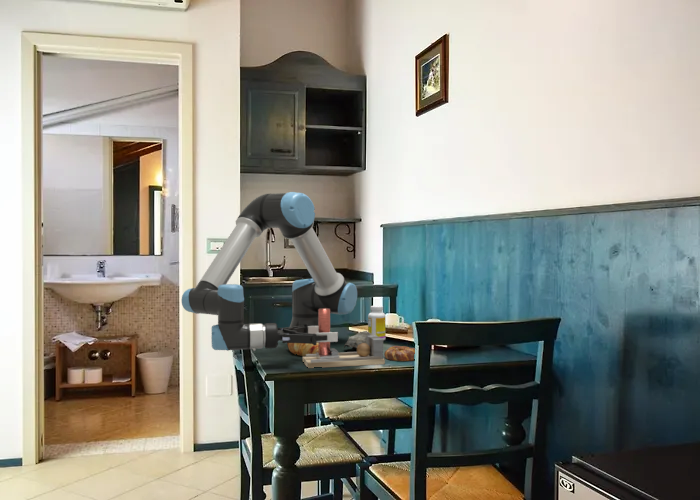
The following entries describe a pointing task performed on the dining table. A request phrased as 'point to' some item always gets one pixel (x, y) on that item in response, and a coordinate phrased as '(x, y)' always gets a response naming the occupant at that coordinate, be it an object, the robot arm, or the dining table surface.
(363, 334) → the rock
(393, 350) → the pretzel
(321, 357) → the handle
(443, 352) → the dining table surface
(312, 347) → the croissant
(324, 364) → the base
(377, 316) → the supplement bottle
